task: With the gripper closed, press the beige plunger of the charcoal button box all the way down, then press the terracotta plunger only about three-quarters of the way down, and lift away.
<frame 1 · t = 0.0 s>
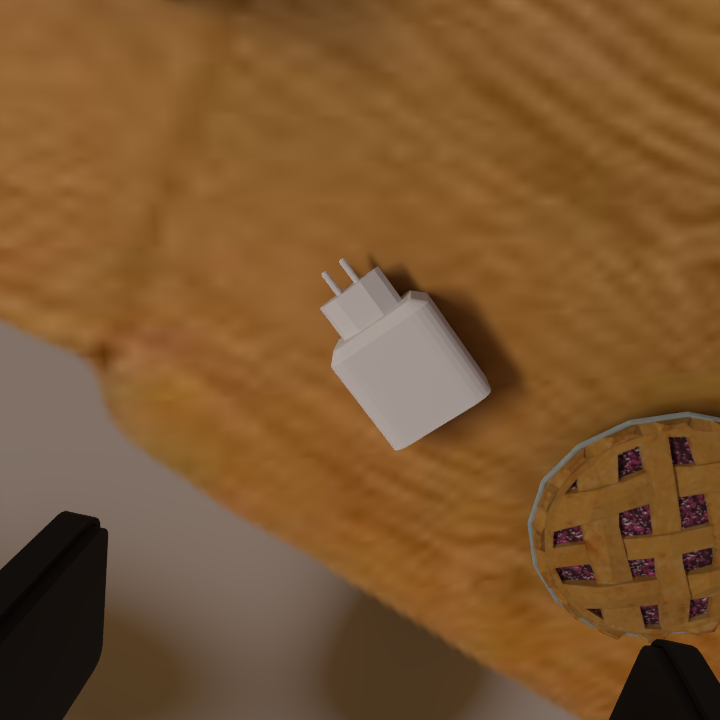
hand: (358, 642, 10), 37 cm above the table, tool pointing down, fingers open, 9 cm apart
charger: (389, 333, 47), on the table
pie: (645, 510, 50), on the table
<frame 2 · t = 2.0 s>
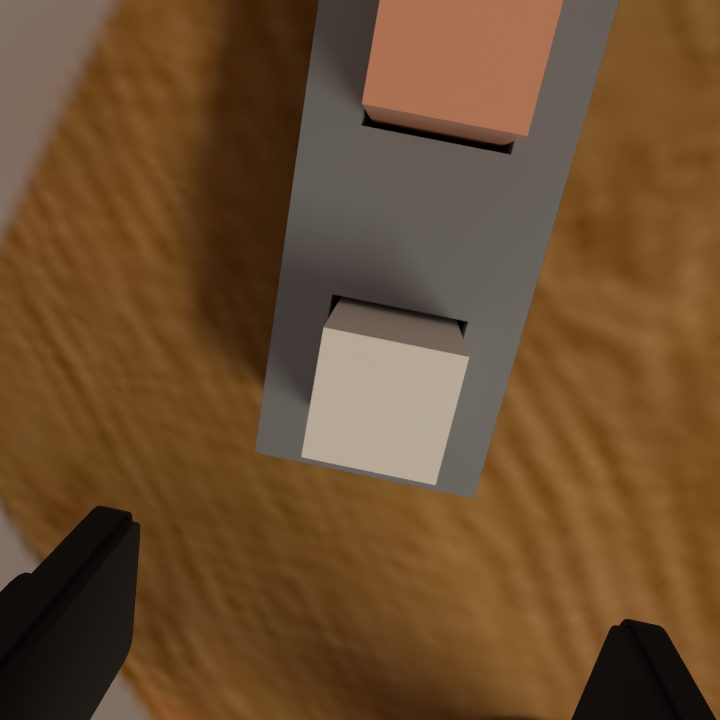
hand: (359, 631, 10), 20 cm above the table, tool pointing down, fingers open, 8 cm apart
button box: (415, 218, 27), on the table
terracotta plunger: (456, 49, 19), point 7 cm above the table, slide at 0.0 cm
beige plunger: (385, 380, 22), point 7 cm above the table, slide at 0.0 cm
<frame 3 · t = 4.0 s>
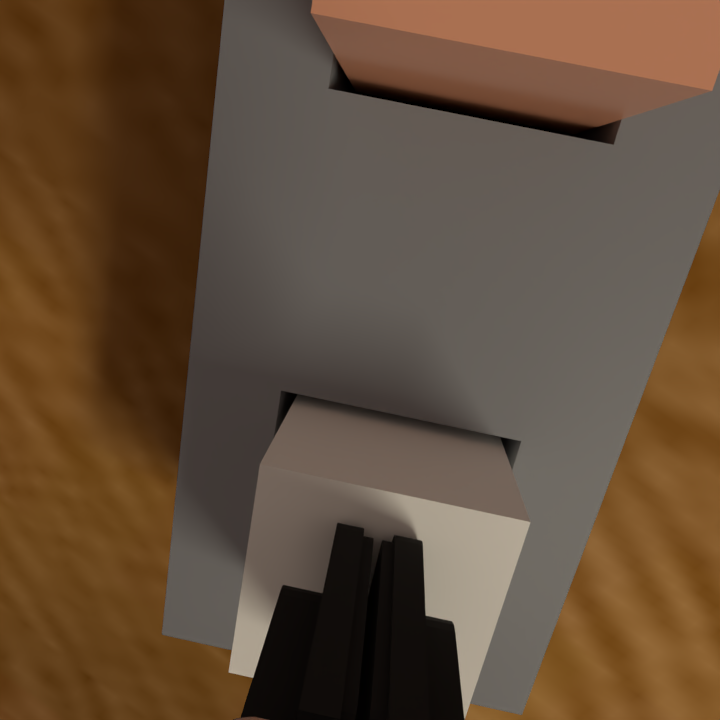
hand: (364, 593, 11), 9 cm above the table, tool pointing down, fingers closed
button box: (425, 248, 17), on the table
beige plunger: (376, 516, 14), point 6 cm above the table, slide at 1.1 cm, touching gripper
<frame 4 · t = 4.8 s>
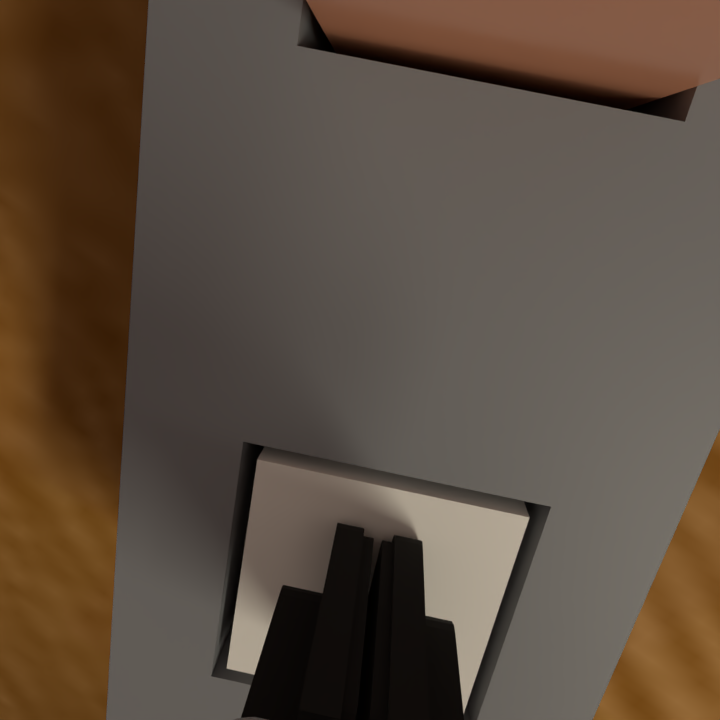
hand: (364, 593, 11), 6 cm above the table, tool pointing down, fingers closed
button box: (426, 254, 15), on the table
beige plunger: (375, 511, 14), point 3 cm above the table, slide at 4.0 cm, touching gripper
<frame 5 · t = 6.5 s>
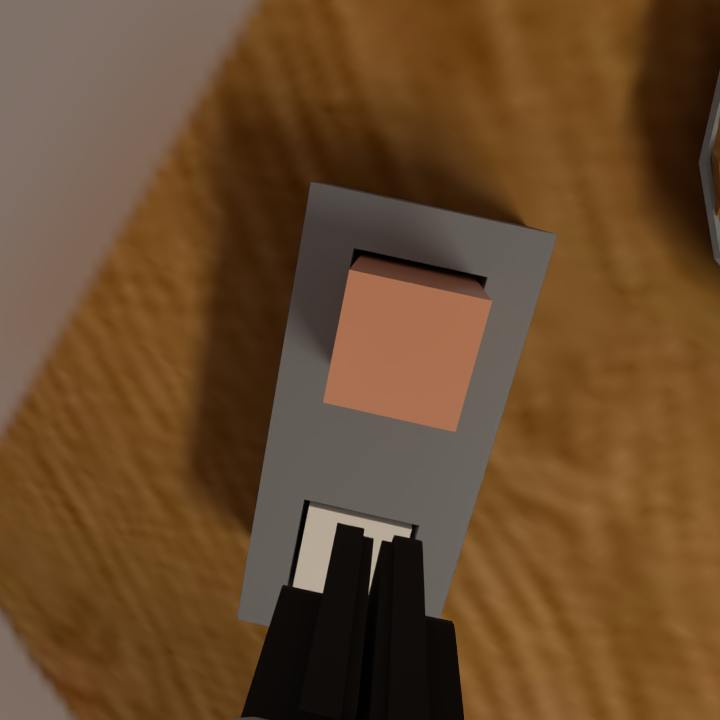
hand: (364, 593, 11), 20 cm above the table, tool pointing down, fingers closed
button box: (382, 404, 31), on the table
terracotta plunger: (404, 333, 23), point 7 cm above the table, slide at 0.0 cm
beige plunger: (355, 526, 30), point 3 cm above the table, slide at 4.0 cm
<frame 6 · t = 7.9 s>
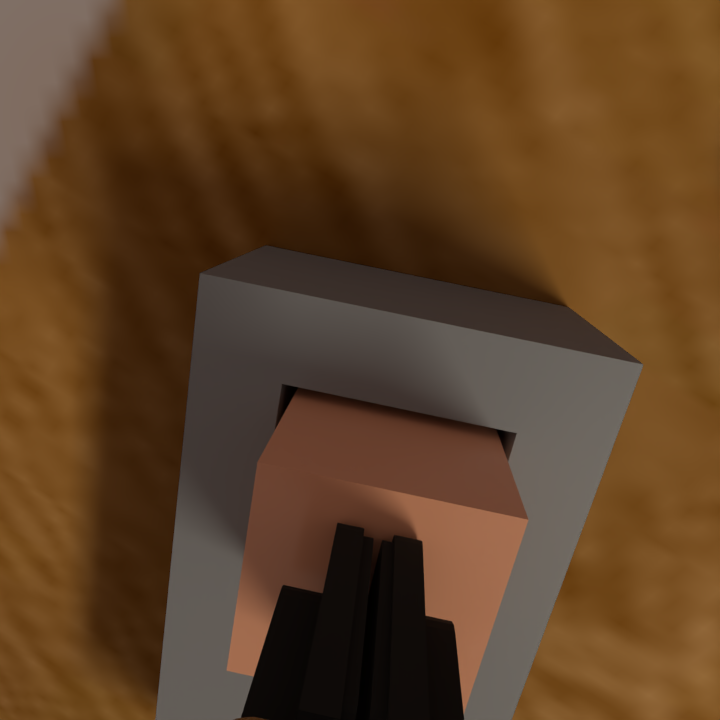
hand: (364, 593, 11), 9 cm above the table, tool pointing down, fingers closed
button box: (353, 555, 21), on the table
terracotta plunger: (374, 514, 14), point 6 cm above the table, slide at 0.8 cm, touching gripper
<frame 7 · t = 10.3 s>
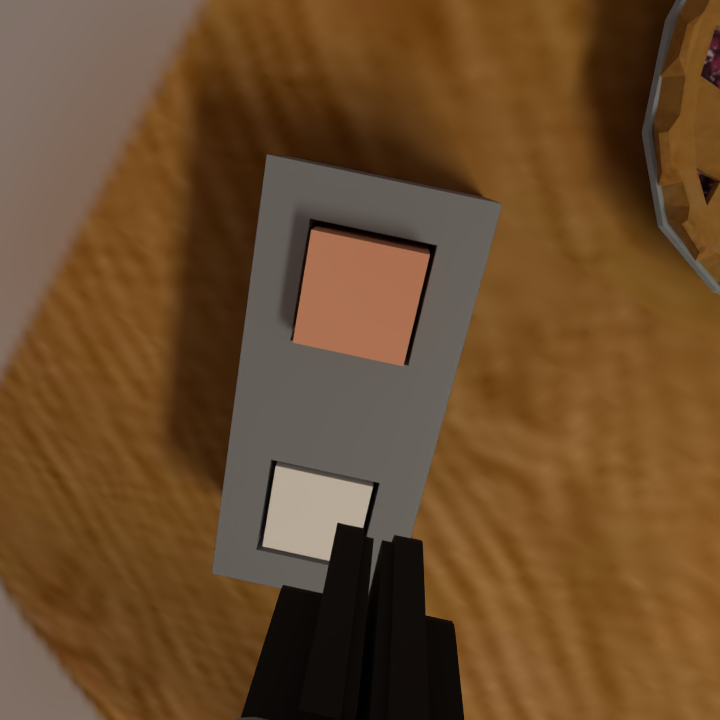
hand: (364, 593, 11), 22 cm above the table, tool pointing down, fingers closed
button box: (349, 371, 32), on the table
terracotta plunger: (364, 286, 27), point 4 cm above the table, slide at 2.9 cm
beige plunger: (324, 486, 32), point 3 cm above the table, slide at 4.0 cm
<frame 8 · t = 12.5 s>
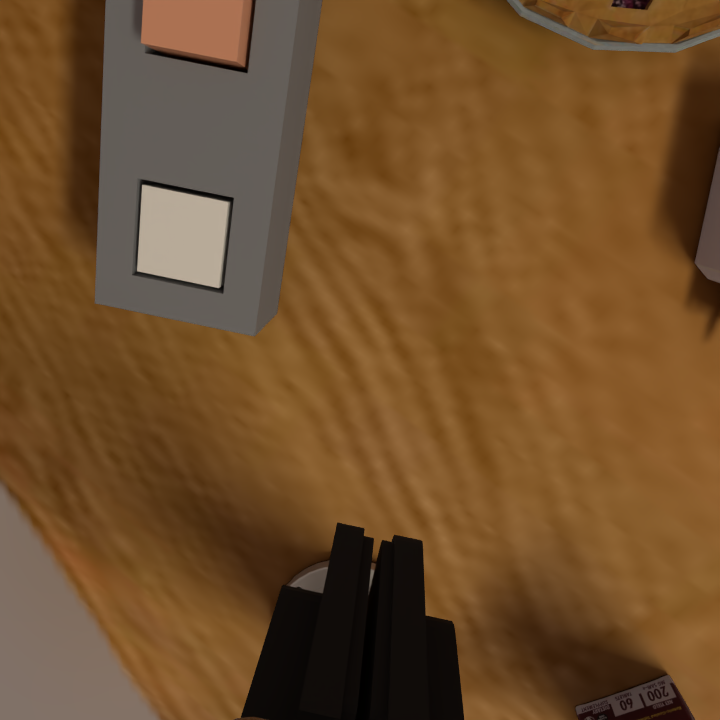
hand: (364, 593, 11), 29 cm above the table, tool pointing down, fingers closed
button box: (225, 135, 36), on the table
terracotta plunger: (213, 13, 30), point 4 cm above the table, slide at 2.9 cm
beige plunger: (199, 232, 35), point 3 cm above the table, slide at 4.0 cm
supplement box: (628, 705, 48), on the table
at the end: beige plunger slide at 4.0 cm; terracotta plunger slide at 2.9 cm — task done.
